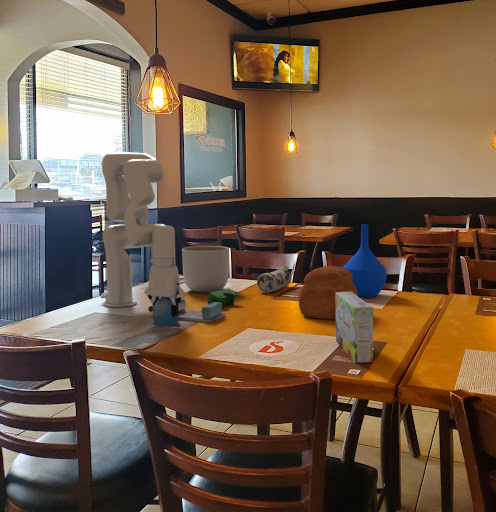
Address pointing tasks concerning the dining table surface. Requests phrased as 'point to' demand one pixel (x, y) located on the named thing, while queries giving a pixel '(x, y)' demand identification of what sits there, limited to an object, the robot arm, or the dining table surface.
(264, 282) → the pencil case
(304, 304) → the bread
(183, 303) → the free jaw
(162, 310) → the perfume bottle
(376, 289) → the vase
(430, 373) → the dining table surface
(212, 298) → the clamp
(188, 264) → the planter
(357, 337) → the snack box
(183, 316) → the vise bed
